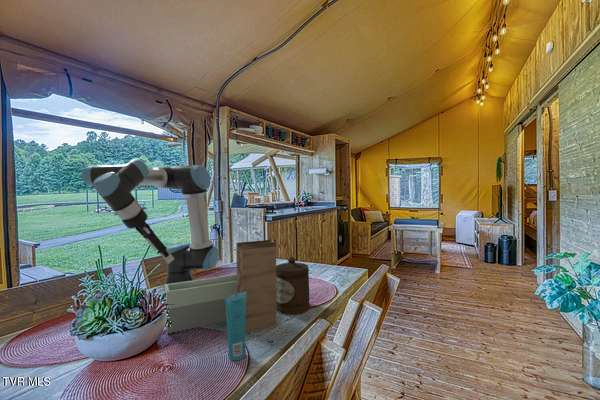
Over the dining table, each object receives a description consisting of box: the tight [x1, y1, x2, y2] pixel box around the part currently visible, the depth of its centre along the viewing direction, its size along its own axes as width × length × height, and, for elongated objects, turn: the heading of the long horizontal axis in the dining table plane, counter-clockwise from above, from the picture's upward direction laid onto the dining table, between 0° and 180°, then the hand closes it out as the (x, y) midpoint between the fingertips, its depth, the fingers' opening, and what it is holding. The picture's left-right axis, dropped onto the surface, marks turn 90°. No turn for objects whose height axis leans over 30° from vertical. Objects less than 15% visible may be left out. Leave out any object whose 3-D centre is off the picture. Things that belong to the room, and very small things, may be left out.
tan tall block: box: [236, 239, 278, 335], centre depth 108 cm, size 7×13×32 cm, turn 119°
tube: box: [225, 291, 246, 361], centre depth 88 cm, size 7×5×19 cm, turn 140°
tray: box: [164, 273, 237, 335], centre depth 114 cm, size 10×31×15 cm, turn 119°
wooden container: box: [276, 256, 310, 316], centre depth 125 cm, size 15×15×22 cm
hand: (164, 254), depth 113 cm, fingers open, 13 cm apart
